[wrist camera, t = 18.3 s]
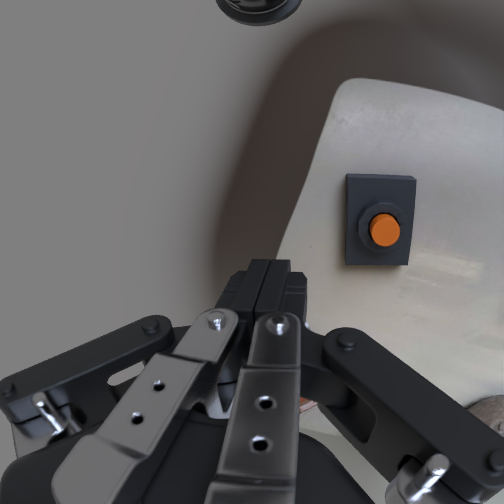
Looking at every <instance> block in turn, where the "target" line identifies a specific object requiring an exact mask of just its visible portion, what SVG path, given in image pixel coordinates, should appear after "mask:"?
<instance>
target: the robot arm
mask: <svg viewBox="0 0 504 504" xmlns="http://www.w3.org/2000/svg"><path fill="white" fill-rule="evenodd" d="M225 1H226V2H227V3H228V4H229V5H230V6H231V7H232V8H233V9H235V10H236V11H238V12H241V13H244V14H249V15H262V14H267V13H270V12H273V11H275V10H277V9H279V8H281V7H282V6H283V5H284V4H286V3H287V1H288V0H225ZM306 313H307V278H306V277H305V275H304V274H303V272H291V265H290V260H275V259H274V260H273V259H272V260H270V259H269V260H268V259H266V260H265V259H252V261H251V263H250V265H249V267H248V269H247V271H238V272H237V273H235V274H234V275H233V276H231V277H230V280H229V281H228V283H227V286H226V287H225V289H224V292H222V294H221V296H220V298H219V300H218V302H217V304H216V306H215V308H213V309H209V310H207V311H204V312H203V313H201V314H200V315H199V316H198V317H197V318H196V320H195V321H194V322H193V324H192V325H191V326H184V327H174V328H172V324H171V321H170V320H169V319H168V318H167V317H165V316H160V315H152V316H148V317H144V318H142V319H140V320H137V321H135V322H133V323H131V324H128V325H126V326H124V327H122V328H119V329H117V330H115V331H113V332H110V333H108V334H106V335H103V336H101V337H99V338H97V339H94V340H92V341H90V342H88V343H85V344H83V345H81V346H78V347H76V348H74V349H71V350H69V351H67V352H64V353H62V354H60V355H57V356H55V357H53V358H50V359H48V360H46V361H43V362H41V363H39V364H36V365H34V366H32V367H29V368H27V369H24V370H22V371H20V372H17V373H15V374H13V375H10V376H8V377H6V378H4V379H2V380H1V381H0V409H1V410H2V412H3V413H4V414H5V415H6V417H7V419H8V420H9V421H10V423H11V427H12V433H13V440H14V446H15V450H16V456H17V459H16V460H15V461H13V462H12V463H11V464H10V465H9V466H8V467H7V469H6V470H5V472H4V473H3V476H2V478H1V482H0V504H375V503H374V502H373V500H371V498H370V497H369V496H368V495H367V494H366V493H365V491H364V490H363V489H362V488H361V487H360V486H359V484H358V483H357V482H356V481H355V480H354V479H353V477H352V476H351V475H350V474H349V473H348V472H347V470H346V469H345V468H344V467H343V465H342V464H341V463H340V462H339V461H338V459H337V458H335V456H334V455H333V454H332V452H331V451H330V450H329V449H328V448H327V447H325V446H324V445H323V444H322V443H320V442H319V441H317V440H316V439H314V438H312V437H310V436H308V435H306V434H303V433H301V432H299V414H300V397H302V398H305V399H308V400H311V401H314V402H317V405H318V408H319V410H320V411H321V412H322V413H323V414H324V415H325V416H326V417H327V419H328V420H329V421H330V422H331V423H332V424H333V425H334V426H335V427H336V428H337V429H338V430H339V431H340V433H341V434H342V435H343V436H344V437H345V438H346V439H347V440H348V441H349V442H350V443H351V444H352V445H353V446H354V447H355V448H356V449H357V450H358V451H359V452H360V454H361V455H362V456H363V457H364V458H365V459H366V460H367V461H368V462H369V463H370V464H371V465H372V466H373V467H374V468H375V469H376V470H377V471H378V472H379V473H380V474H381V475H382V476H383V477H384V478H385V479H386V480H387V481H388V482H389V483H390V484H389V485H388V487H387V489H386V493H385V502H386V504H483V503H484V502H486V501H487V500H489V499H490V498H491V497H493V496H494V495H495V494H497V493H498V492H499V491H500V490H502V489H503V488H504V437H502V436H501V435H500V434H498V433H497V432H496V431H494V430H493V429H492V428H490V427H489V426H488V425H487V424H485V423H484V422H483V421H481V420H480V419H479V418H477V417H476V416H475V415H473V414H472V413H471V412H469V411H468V410H467V409H465V408H464V407H463V406H461V405H460V404H459V403H457V402H456V401H455V400H453V399H452V398H451V397H449V396H448V395H447V394H445V393H444V392H443V391H441V390H440V389H439V388H437V387H436V386H435V385H433V384H432V383H431V382H429V381H428V380H427V379H425V378H424V377H423V376H421V375H420V374H419V373H417V372H416V371H415V370H413V369H412V368H411V367H409V366H408V365H407V364H405V363H404V362H403V361H401V360H400V359H399V358H397V357H396V356H395V355H393V354H392V353H391V352H389V351H388V350H387V349H385V348H384V347H383V346H381V345H380V344H379V343H377V342H376V341H375V340H373V339H372V338H371V337H369V336H368V335H367V334H365V333H364V332H362V331H360V330H358V329H355V328H348V327H343V328H337V329H334V330H332V331H330V332H329V333H327V334H326V336H323V335H320V334H316V333H314V332H312V331H311V330H309V329H308V328H307V327H306V326H305V323H306ZM141 361H142V362H143V364H144V367H145V368H144V369H143V370H142V372H141V373H140V374H139V375H137V376H135V377H133V378H131V379H129V380H127V381H125V382H123V383H121V384H119V385H116V386H111V385H109V384H108V383H107V381H108V379H109V377H110V376H112V375H113V374H115V373H117V372H119V371H121V370H124V369H126V368H128V367H130V366H132V365H134V364H136V363H139V362H141Z"/></svg>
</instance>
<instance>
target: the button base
mask: <svg viewBox="0 0 504 504" xmlns="http://www.w3.org/2000/svg"><path fill="white" fill-rule="evenodd" d="M415 195H416V179H415V178H414V177H412V176H401V175H378V174H347V201H346V239H345V263H346V265H408V260H409V253H410V246H411V238H412V229H413V219H414V208H415ZM380 214H388V215H390V216H392V217H393V218H394V219H395V221H396V222H397V224H398V225H399V228H400V235H399V237H398V239H397V241H396V242H395V243H394V244H392V245H390V246H380V245H378V244H377V243H376V242H375V241H374V240H373V238H372V235H371V233H370V224H371V221H372V220H373V219H374V218H375V217H376V216H378V215H380Z"/></svg>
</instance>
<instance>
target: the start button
mask: <svg viewBox="0 0 504 504" xmlns="http://www.w3.org/2000/svg"><path fill="white" fill-rule="evenodd" d="M370 233H371V235H372V238H373V240H374V241H375V242H376V243H377V244H378V245H380V246H390V245H392V244H394V243H395V242H396V241H397V239H398V237H399V235H400V228H399V225H398V224H397V222H396V221H395V219H394V218H393V217H392V216H390V215H388V214H380V215H378V216H376V217H375V218H374V219H373V220H372V221H371V224H370Z"/></svg>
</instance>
